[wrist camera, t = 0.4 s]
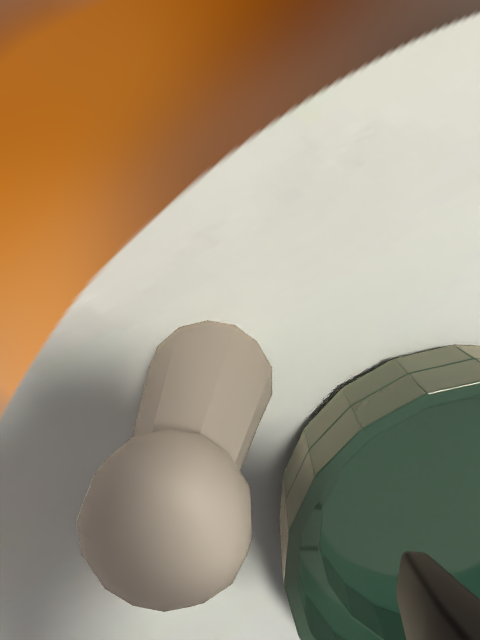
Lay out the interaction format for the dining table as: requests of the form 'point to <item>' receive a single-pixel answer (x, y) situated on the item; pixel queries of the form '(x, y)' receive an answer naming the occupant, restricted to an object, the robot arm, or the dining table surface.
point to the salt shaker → (181, 474)
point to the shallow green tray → (383, 493)
